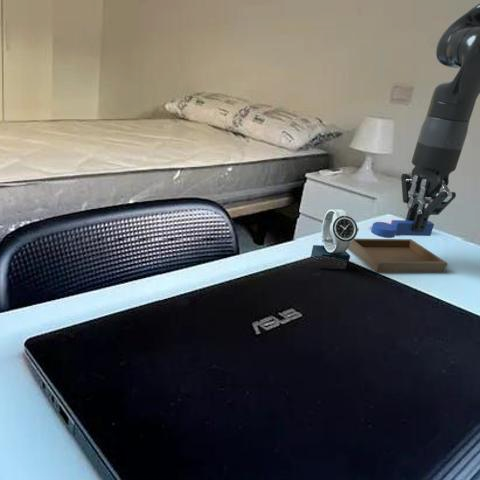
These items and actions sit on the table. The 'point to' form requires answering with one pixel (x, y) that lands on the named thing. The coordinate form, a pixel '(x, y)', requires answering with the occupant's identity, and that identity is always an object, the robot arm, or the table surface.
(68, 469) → the table surface
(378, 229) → the blue spoon
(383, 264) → the tray
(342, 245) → the watch
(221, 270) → the table surface
